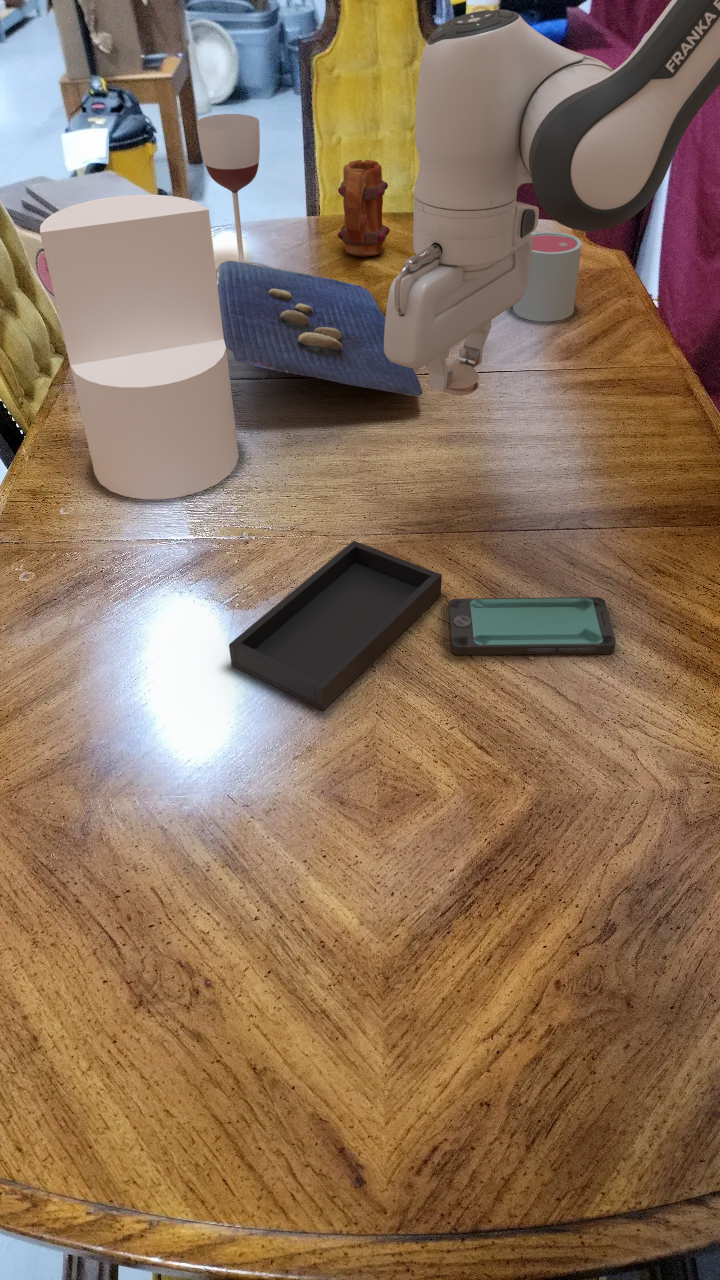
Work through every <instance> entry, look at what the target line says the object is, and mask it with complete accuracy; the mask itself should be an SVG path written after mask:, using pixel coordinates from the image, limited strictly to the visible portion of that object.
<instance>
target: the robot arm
mask: <svg viewBox="0 0 720 1280" xmlns="http://www.w3.org/2000/svg"><path fill="white" fill-rule="evenodd" d="M719 86H720V0H671V1H670V2H669V3H668V5H666V7H665V9H663V11H662V13H661V14H660V15H659V16H658V18H657V19H656V20H655V22H654V23H653V24H652V26H651V27H650V28H649V30H648V31H647V33H646V34H645V35H644V36H643V38H642V39H641V41H640V42H639V43H638V44H637V46H636V47H635V49H633V51H632V53H631V54H630V55H629V56H628V57H627V59H626V60H624V61H623V62H622V63H621V64H620V65H618V67H616V68H615V69H613V68H611V67H610V66H609V65H608V64H606V63H605V62H603V61H601V60H600V59H597V58H596V57H592V56H590V55H586V54H584V53H580V52H577V51H574V50H572V49H569V48H567V47H565V46H562V45H560V44H558V43H556V42H555V41H553V40H551V39H549V38H548V37H546V36H545V35H544V34H542V33H540V32H538V31H537V30H536V29H535V28H533V27H532V26H531V25H530V24H528V23H527V21H525V20H524V18H523V17H522V15H520V14H519V13H518V12H516V11H511V10H508V9H492V10H491V9H486V10H479V11H473V12H469V13H466V14H462V15H459V16H456V17H453V18H451V19H450V20H448V21H445V22H444V23H442V24H440V25H439V26H437V28H436V29H435V30H434V31H433V32H432V33H431V34H430V36H429V38H428V39H427V40H426V43H425V45H424V48H423V50H422V53H421V60H420V65H419V70H418V80H417V88H416V102H415V103H416V104H415V105H416V106H415V123H414V125H415V126H414V129H415V130H414V141H415V147H416V150H417V155H418V172H417V177H416V180H415V183H414V189H413V217H412V218H413V220H412V223H413V225H412V226H413V227H412V250H413V251H414V253H415V255H411V256H409V257H408V258H407V259H406V260H405V261H404V262H403V264H402V268H401V270H400V272H399V273H398V275H397V276H395V278H394V279H393V281H392V282H391V284H390V287H389V291H388V295H387V302H386V311H385V318H386V319H385V332H384V353H385V355H386V357H387V358H388V360H389V361H390V362H392V363H395V364H398V365H401V366H405V367H408V368H412V369H414V370H419V369H422V368H423V367H424V366H425V367H426V369H427V371H428V380H429V381H428V380H427V383H428V386H429V387H430V389H433V390H436V391H440V392H444V391H443V390H444V389H446V388H447V387H448V386H450V385H451V384H452V376H453V369H451V368H448V367H449V366H448V365H447V360H446V359H447V358H448V357H449V354H450V349H451V348H452V347H454V346H455V345H458V343H460V342H461V341H463V340H464V342H463V346H462V347H460V348H459V351H458V352H459V353H458V355H459V359H458V364H466V365H469V366H472V367H473V368H474V369H475V368H476V367H478V366H479V365H481V364H482V362H483V352H484V351H483V350H484V347H485V345H486V342H487V339H488V337H489V334H490V331H491V329H492V321H493V319H495V318H497V317H499V316H500V315H501V314H503V313H504V312H505V311H507V310H508V309H510V308H511V307H513V305H514V304H516V303H518V302H519V301H520V300H521V298H522V296H523V294H524V292H525V289H526V287H527V283H528V278H529V271H530V264H531V256H532V246H533V239H532V233H534V231H536V229H537V228H538V224H539V218H540V217H539V216H540V210H539V206H536V205H532V204H530V203H529V204H528V203H524V202H521V201H517V199H518V198H517V195H518V189H519V187H520V186H522V185H524V184H532V186H533V189H534V193H535V196H536V198H537V200H538V203H539V204H540V206H541V207H542V209H543V211H545V213H546V214H547V215H548V216H549V217H550V218H551V219H553V220H554V221H555V222H556V223H558V224H560V225H561V226H563V227H566V228H568V229H572V230H575V231H582V232H598V231H604V230H607V229H612V228H614V227H617V226H620V225H621V224H623V223H625V222H627V221H629V220H630V219H632V218H633V217H635V216H636V215H637V214H639V213H640V212H641V211H642V210H643V209H644V208H646V206H647V205H648V204H649V203H650V201H652V199H653V198H654V196H655V195H656V193H657V192H658V190H659V189H660V187H661V185H662V183H663V181H664V179H665V178H666V175H667V173H668V171H669V168H670V166H671V163H672V161H673V159H674V156H675V154H676V152H677V150H678V147H679V145H680V143H681V141H682V139H683V136H684V134H685V133H686V131H687V129H688V128H689V126H690V124H691V123H692V121H693V120H694V119H695V117H696V116H697V114H698V113H699V111H700V110H701V109H702V108H703V106H704V105H705V103H706V102H707V101H708V100H709V99H710V97H711V96H712V95H713V93H715V91H716V90H717V88H718V87H719Z"/></svg>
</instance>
